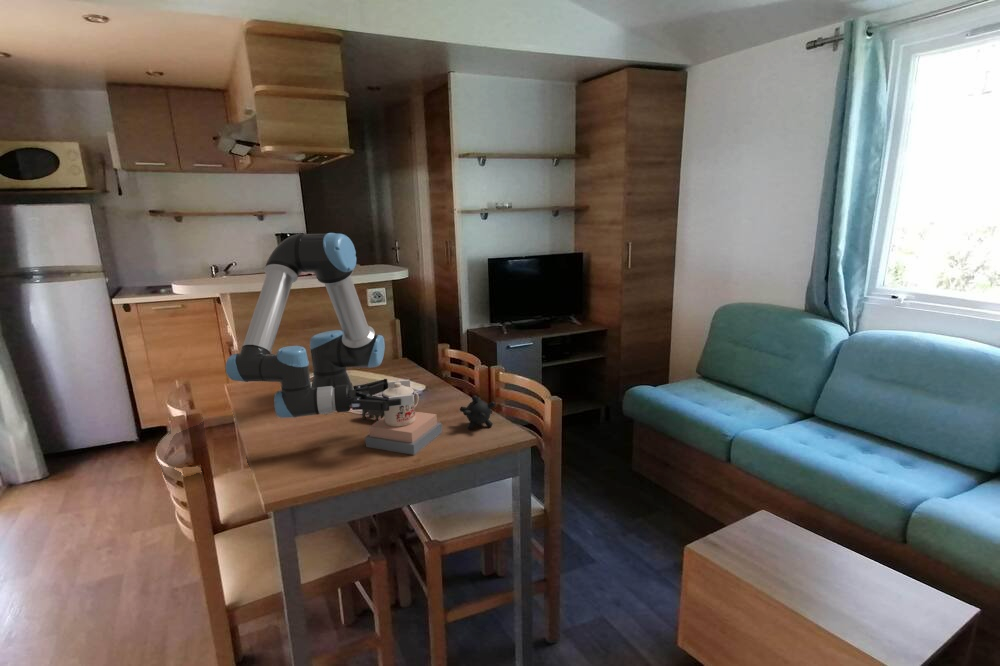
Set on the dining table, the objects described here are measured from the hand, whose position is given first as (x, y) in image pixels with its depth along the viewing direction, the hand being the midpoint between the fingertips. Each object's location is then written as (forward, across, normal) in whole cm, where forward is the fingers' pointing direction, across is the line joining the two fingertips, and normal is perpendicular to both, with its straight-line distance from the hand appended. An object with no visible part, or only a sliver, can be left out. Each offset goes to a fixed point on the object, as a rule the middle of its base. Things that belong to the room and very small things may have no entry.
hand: (411, 391), depth 152 cm
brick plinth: (-3, 0, -14) cm, 15 cm away
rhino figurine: (-10, -17, -15) cm, 25 cm away
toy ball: (+19, -4, -15) cm, 25 cm away
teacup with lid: (-3, 0, -9) cm, 9 cm away
